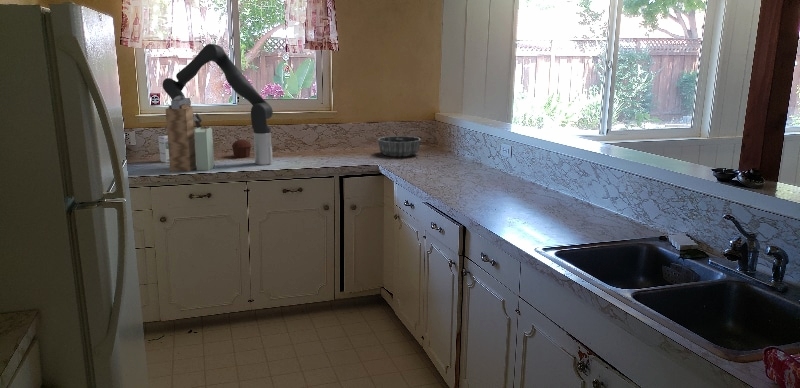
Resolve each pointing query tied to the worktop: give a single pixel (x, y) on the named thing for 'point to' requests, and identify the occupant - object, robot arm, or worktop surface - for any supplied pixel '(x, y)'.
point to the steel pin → (180, 103)
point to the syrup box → (164, 148)
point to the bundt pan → (399, 145)
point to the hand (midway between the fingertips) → (192, 125)
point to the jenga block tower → (181, 138)
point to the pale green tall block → (204, 149)
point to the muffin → (241, 148)
